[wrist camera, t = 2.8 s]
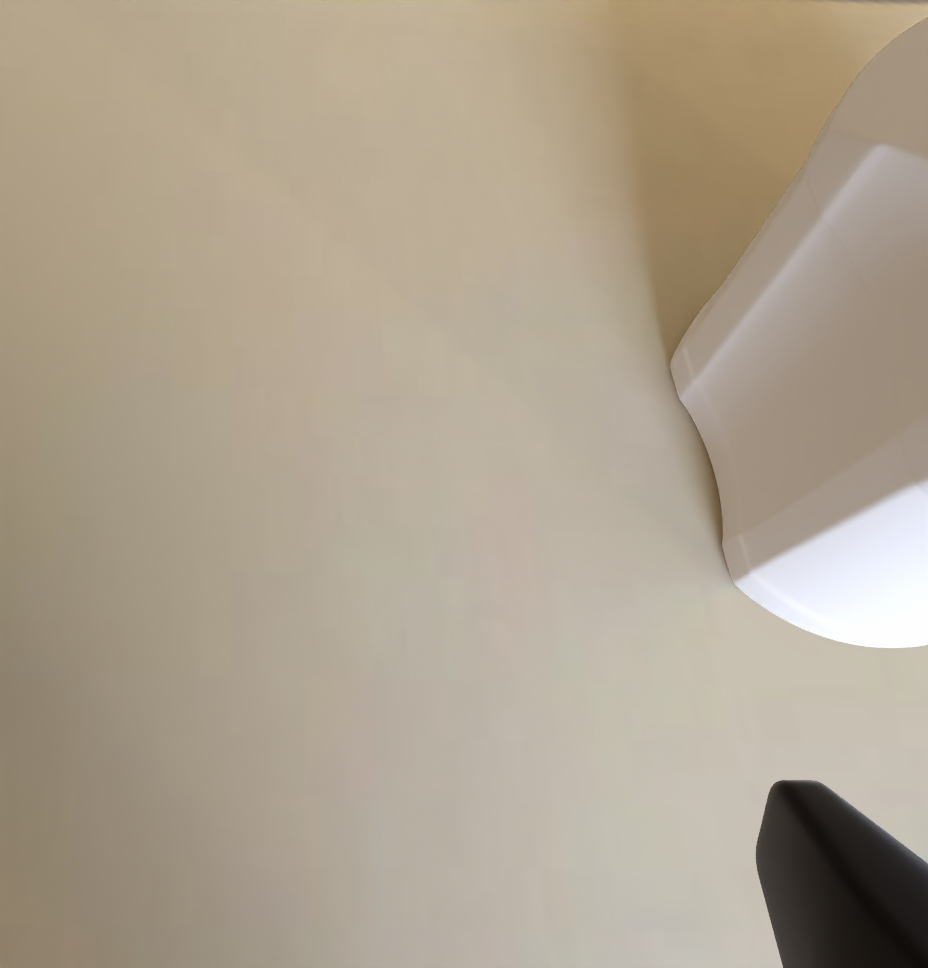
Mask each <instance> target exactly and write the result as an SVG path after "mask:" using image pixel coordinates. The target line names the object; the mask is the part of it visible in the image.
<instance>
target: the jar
mask: <svg viewBox="0 0 928 968" xmlns="http://www.w3.org/2000/svg"><path fill="white" fill-rule="evenodd" d="M670 369H671V373H672V376H673V380H674V383H675V387H676V390H677V394H678V397H679V399H680V401H681V402H682V404H683V405H684V406H685V408H686V409H687V411H688V412H689V414H690V416H691V417H692V419H693V421H694V423H695V425H696V427H697V429H698V431H699V433H700V435H701V437H702V440H703V442H704V444H705V447H706V449H707V452H708V454H709V457H710V460H711V463H712V467H713V470H714V473H715V477H716V481H717V486H718V491H719V497H720V503H721V511H722V522H723V540H722V548H723V552H724V556H725V559H726V562H727V566H728V569H729V573H730V576H731V579H732V582H733V584H734V585H735V586H736V587H737V588H739V589H740V590H741V591H742V592H743V593H745V594H746V595H747V596H748V597H750V598H751V599H752V600H754V601H755V602H756V603H758V604H759V605H761V606H762V607H764V608H765V609H767V610H768V611H770V612H771V613H773V614H775V615H776V616H778V617H780V618H782V619H783V620H785V621H787V622H789V623H791V624H793V625H795V626H797V627H800V628H802V629H804V630H807V631H809V632H812V633H814V634H817V635H820V636H823V637H826V638H829V639H833V640H836V641H840V642H844V643H849V644H854V645H860V646H868V647H880V648H904V647H916V646H923V645H928V18H926V19H924V20H922V21H921V22H919V23H917V24H916V25H914V26H912V27H911V28H909V29H908V30H906V31H905V32H903V33H902V34H900V35H899V36H898V37H896V38H895V39H894V40H893V41H891V42H890V43H889V44H888V45H887V46H886V47H884V48H883V49H882V50H881V51H880V52H879V53H878V54H877V55H876V56H875V57H874V58H873V59H872V60H871V61H870V62H869V63H868V64H867V65H866V67H865V68H864V69H863V70H862V71H861V72H860V74H859V75H858V76H857V77H856V79H855V80H854V81H853V83H852V84H851V86H850V87H849V89H848V90H847V92H846V93H845V95H844V96H843V98H842V99H841V101H840V102H839V104H838V105H837V107H836V108H835V110H834V111H833V113H832V114H831V116H830V117H829V119H828V120H827V122H826V123H825V125H824V127H823V128H822V130H821V132H820V134H819V135H818V137H817V139H816V141H815V143H814V145H813V147H812V149H811V152H810V154H809V156H808V159H807V160H806V162H805V163H804V165H803V166H802V168H801V169H800V171H799V172H798V173H797V175H796V176H795V178H794V179H793V181H792V182H791V184H790V185H789V187H788V188H787V190H786V191H785V193H784V194H783V196H782V197H781V199H780V200H779V202H778V203H777V204H776V206H775V207H774V209H773V210H772V212H771V213H770V215H769V216H768V218H767V219H766V221H765V222H764V224H763V225H762V227H761V228H760V230H759V231H758V233H757V234H756V235H755V237H754V238H753V240H752V241H751V243H750V244H749V246H748V247H747V249H746V250H745V252H744V253H743V255H742V256H741V258H740V259H739V261H738V262H737V263H736V265H735V266H734V268H733V269H732V271H731V272H730V274H729V275H728V277H727V278H726V280H725V281H724V283H723V284H722V286H721V287H720V288H719V289H718V290H717V291H716V292H715V293H714V294H713V295H712V297H711V298H710V299H709V300H708V301H707V303H706V304H705V305H704V306H703V308H702V309H701V310H700V312H699V313H698V315H697V316H696V318H695V319H694V321H693V322H692V324H691V325H690V327H689V328H688V330H687V331H686V333H685V334H684V336H683V338H682V339H681V341H680V343H679V345H678V347H677V349H676V351H675V353H674V355H673V357H672V360H671V362H670Z"/></svg>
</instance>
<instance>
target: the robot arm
mask: <svg viewBox="0 0 928 968" xmlns="http://www.w3.org/2000/svg"><path fill="white" fill-rule="evenodd" d="M756 864H757V871H758V875H759V879H760V883H761V886H762V890H763V894H764V898H765V901H766V905H767V909H768V912H769V916H770V920H771V924H772V927H773V931H774V935H775V939H776V942H777V946H778V950H779V954H780V957H781V961H782V965H783V968H928V863H926V862H925V861H924V860H922V859H921V858H920V857H918V856H917V855H916V854H914V853H913V852H912V851H911V850H909V849H908V848H907V847H905V846H904V845H903V844H901V843H900V842H899V841H897V840H896V839H895V838H893V837H892V836H891V835H890V834H888V833H887V832H886V831H884V830H883V829H882V828H880V827H879V826H878V825H876V824H875V823H874V822H873V821H871V820H870V819H869V818H867V817H866V816H865V815H863V814H862V813H861V812H859V811H858V810H857V809H856V808H854V807H853V806H852V805H850V804H849V803H848V802H846V801H845V800H844V799H842V798H841V797H840V796H838V795H837V794H836V793H835V792H833V791H832V790H831V789H829V788H828V787H827V786H825V785H824V784H822V783H820V782H818V781H812V780H782V781H778V782H776V783H775V784H773V786H772V787H771V789H770V792H769V795H768V799H767V803H766V807H765V811H764V815H763V820H762V824H761V828H760V832H759V836H758V841H757V846H756Z"/></svg>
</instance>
